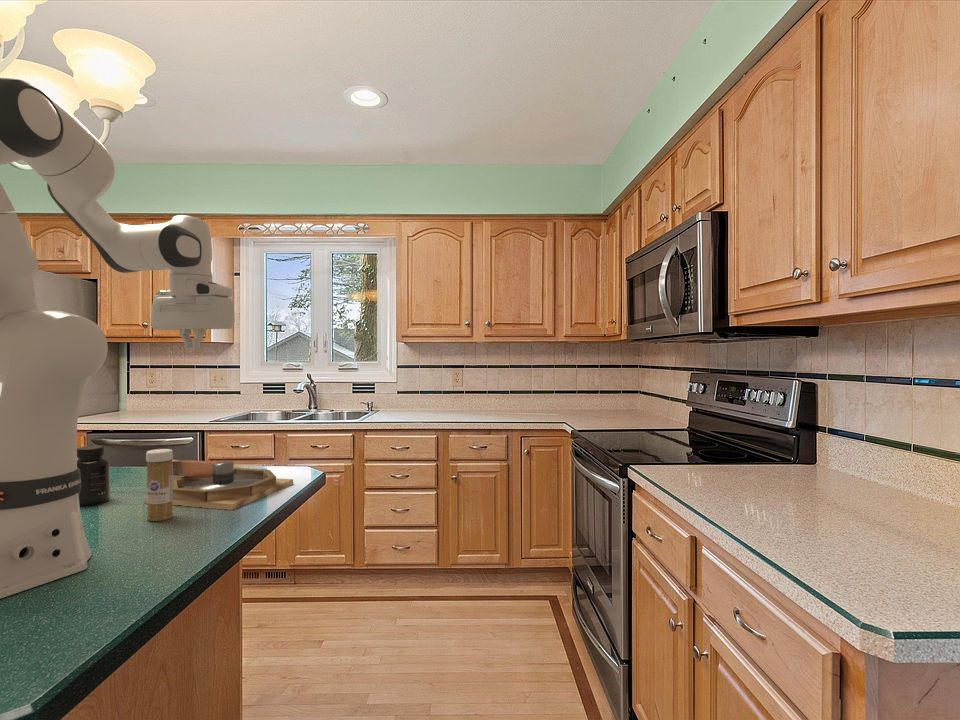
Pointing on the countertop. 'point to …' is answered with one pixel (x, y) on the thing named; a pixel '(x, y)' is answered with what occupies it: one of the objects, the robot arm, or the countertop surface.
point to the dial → (212, 474)
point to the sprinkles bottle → (159, 484)
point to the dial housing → (227, 491)
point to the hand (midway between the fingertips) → (192, 349)
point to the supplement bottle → (93, 475)
